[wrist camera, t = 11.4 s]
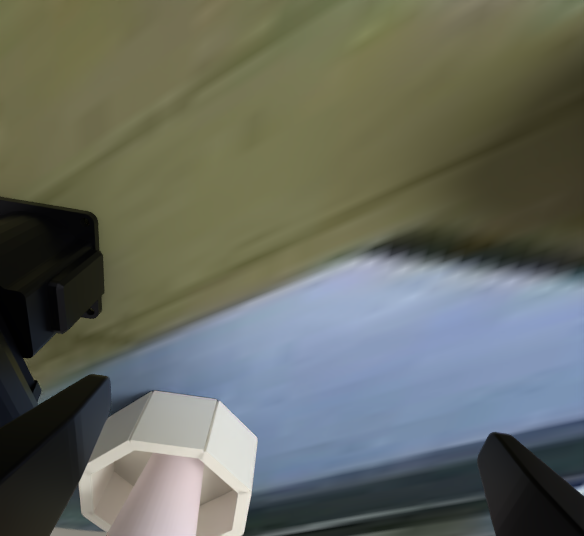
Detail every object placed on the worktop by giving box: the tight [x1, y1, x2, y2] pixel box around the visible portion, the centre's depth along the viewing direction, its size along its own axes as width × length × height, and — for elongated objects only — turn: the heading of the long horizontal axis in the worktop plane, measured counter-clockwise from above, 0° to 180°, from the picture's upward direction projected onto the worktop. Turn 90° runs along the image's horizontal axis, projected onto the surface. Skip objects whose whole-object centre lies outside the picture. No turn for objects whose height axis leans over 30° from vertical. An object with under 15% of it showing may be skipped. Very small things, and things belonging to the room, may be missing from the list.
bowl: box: [79, 390, 258, 536], centre depth 26 cm, size 11×11×4 cm
